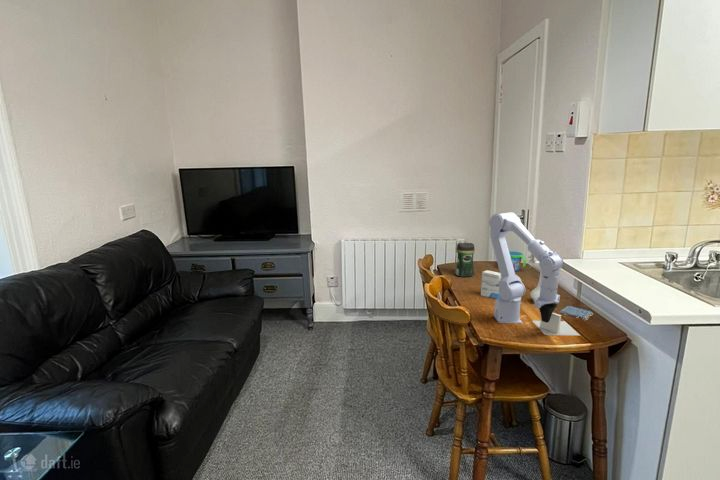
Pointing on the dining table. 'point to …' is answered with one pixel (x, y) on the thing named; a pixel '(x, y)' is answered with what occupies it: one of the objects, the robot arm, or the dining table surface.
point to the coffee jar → (465, 259)
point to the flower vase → (536, 292)
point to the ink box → (490, 284)
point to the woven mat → (577, 312)
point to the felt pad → (564, 329)
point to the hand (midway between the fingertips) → (545, 321)
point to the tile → (552, 323)
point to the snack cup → (517, 259)
